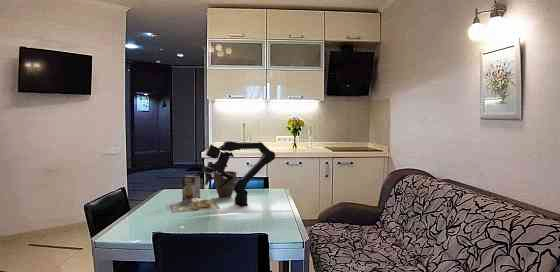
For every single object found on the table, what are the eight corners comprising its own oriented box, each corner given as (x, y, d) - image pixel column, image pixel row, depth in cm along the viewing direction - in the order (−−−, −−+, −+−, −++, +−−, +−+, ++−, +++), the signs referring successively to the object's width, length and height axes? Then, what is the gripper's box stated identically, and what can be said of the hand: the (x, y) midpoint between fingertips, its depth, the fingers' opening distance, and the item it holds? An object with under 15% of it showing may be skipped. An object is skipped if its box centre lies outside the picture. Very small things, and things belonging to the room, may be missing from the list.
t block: (209, 203, 228) (209, 197, 228) (211, 207, 218) (211, 200, 218) (191, 205, 225) (191, 198, 224) (193, 208, 215) (193, 201, 215)
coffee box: (182, 202, 236) (181, 176, 235) (188, 200, 242) (187, 174, 241) (194, 203, 233) (194, 177, 232) (200, 201, 239) (200, 175, 238)
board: (214, 203, 234) (214, 201, 234) (220, 210, 215) (220, 208, 215) (169, 206, 226) (169, 205, 226) (171, 214, 207) (171, 212, 207)
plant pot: (241, 196, 253) (241, 172, 252) (226, 200, 241) (226, 175, 240) (224, 194, 261) (223, 170, 260) (208, 198, 249) (208, 173, 248)
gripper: (228, 163, 236) (219, 187, 235) (202, 154, 225) (192, 179, 224) (238, 167, 227) (228, 192, 226) (211, 158, 216) (201, 184, 215)
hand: (212, 187), depth 223 cm, fingers open, 9 cm apart
